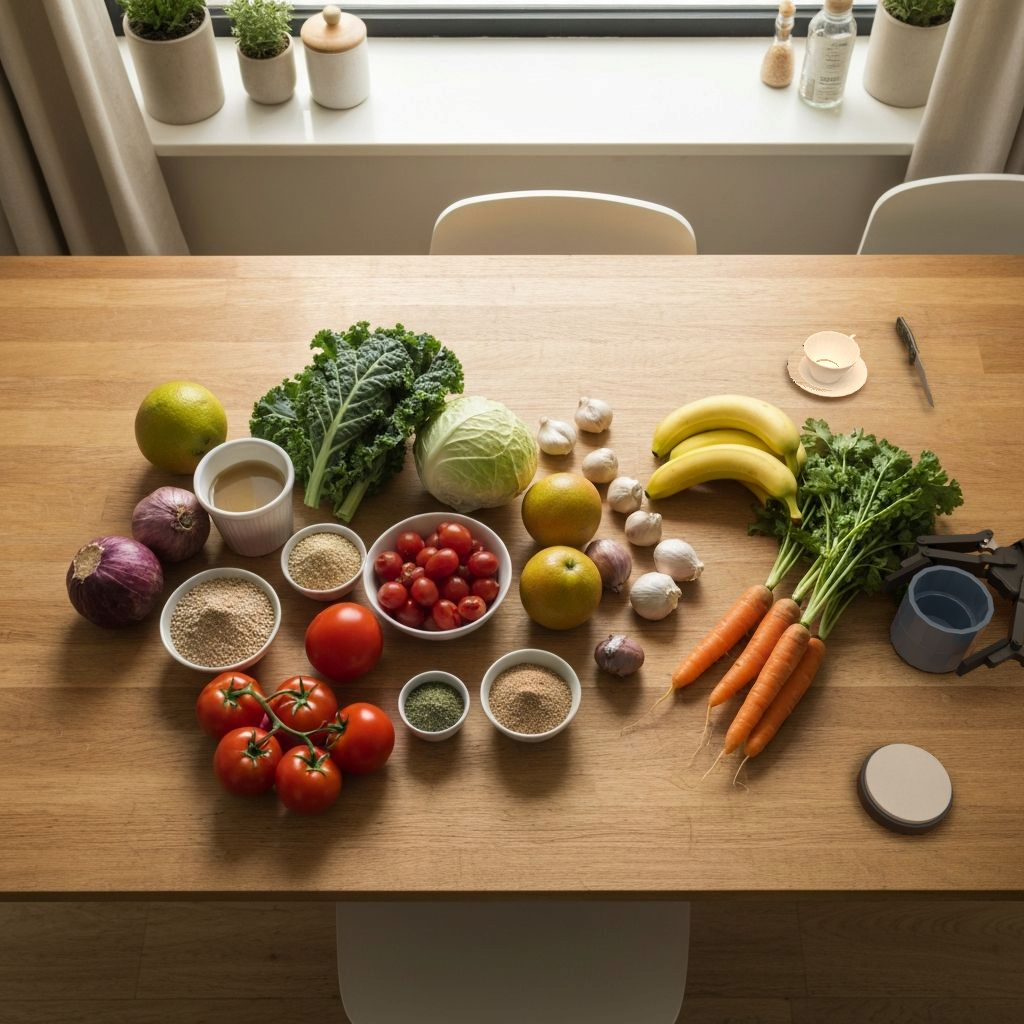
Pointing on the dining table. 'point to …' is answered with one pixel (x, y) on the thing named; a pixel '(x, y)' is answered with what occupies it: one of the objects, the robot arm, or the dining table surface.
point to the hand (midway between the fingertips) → (921, 626)
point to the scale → (904, 789)
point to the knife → (914, 356)
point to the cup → (941, 618)
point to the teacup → (832, 364)
